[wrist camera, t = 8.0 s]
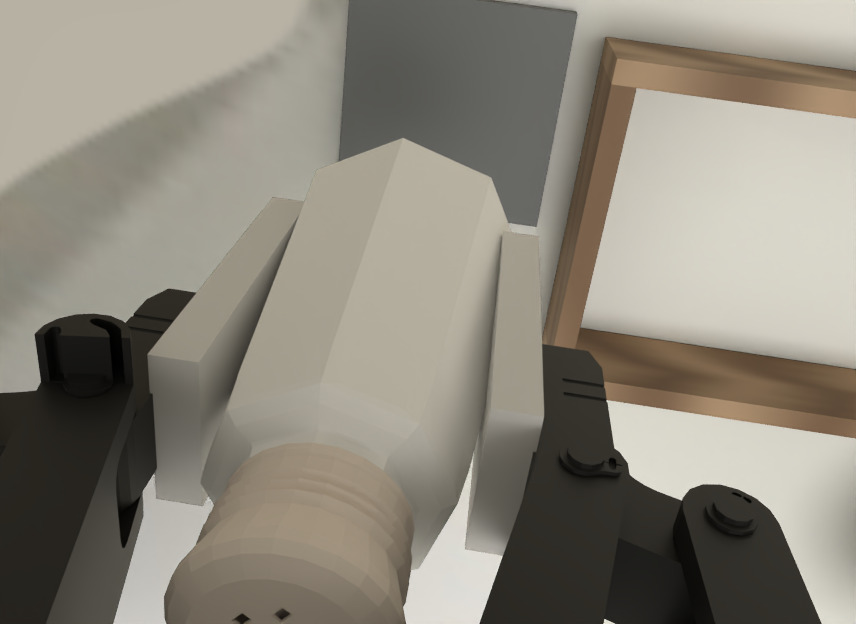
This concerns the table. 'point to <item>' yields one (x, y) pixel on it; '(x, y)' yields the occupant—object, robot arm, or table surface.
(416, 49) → the mat
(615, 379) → the tray
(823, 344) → the table surface
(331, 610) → the salt shaker
